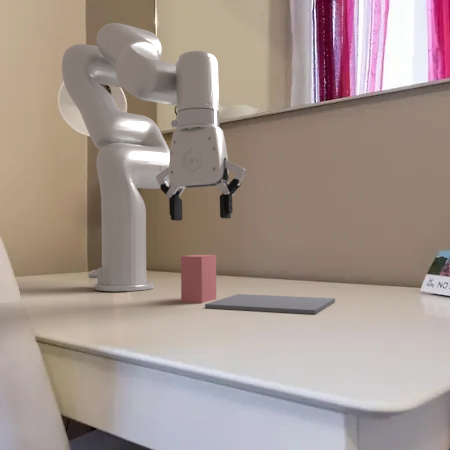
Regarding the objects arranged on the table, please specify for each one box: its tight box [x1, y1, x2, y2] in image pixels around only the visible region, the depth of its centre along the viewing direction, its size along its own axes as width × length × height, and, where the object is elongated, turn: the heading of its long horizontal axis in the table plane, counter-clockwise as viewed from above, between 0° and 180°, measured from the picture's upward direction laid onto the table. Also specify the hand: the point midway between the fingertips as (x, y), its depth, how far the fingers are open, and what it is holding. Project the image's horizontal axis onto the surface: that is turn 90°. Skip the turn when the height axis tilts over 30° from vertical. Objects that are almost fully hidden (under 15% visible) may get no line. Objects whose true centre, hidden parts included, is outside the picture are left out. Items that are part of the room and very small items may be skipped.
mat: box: [204, 293, 336, 315], centre depth 88 cm, size 18×14×1 cm
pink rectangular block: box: [180, 254, 217, 304], centre depth 94 cm, size 4×6×8 cm, turn 157°
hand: (200, 219), depth 94 cm, fingers open, 9 cm apart
